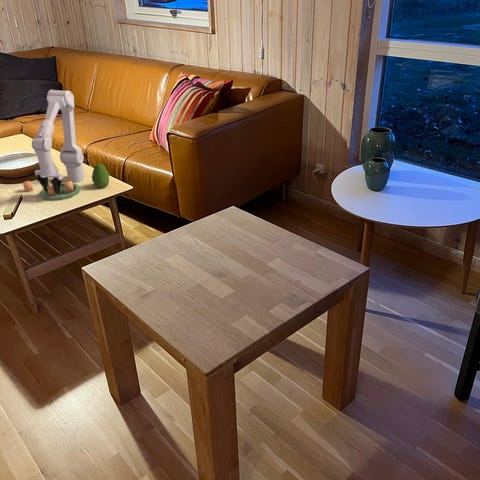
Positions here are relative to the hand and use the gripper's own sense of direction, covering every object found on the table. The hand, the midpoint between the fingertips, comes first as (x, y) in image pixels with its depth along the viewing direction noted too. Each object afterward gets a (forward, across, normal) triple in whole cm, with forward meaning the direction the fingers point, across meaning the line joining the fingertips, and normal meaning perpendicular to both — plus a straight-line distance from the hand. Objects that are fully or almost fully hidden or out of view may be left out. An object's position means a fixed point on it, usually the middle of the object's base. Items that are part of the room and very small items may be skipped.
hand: (52, 191), depth 212 cm
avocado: (+3, +13, +19) cm, 23 cm away
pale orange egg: (+2, 0, 0) cm, 2 cm away
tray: (+3, 0, +4) cm, 5 cm away
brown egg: (+3, -15, 0) cm, 16 cm away
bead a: (+2, +4, +7) cm, 8 cm away
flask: (+3, -25, +24) cm, 35 cm away
